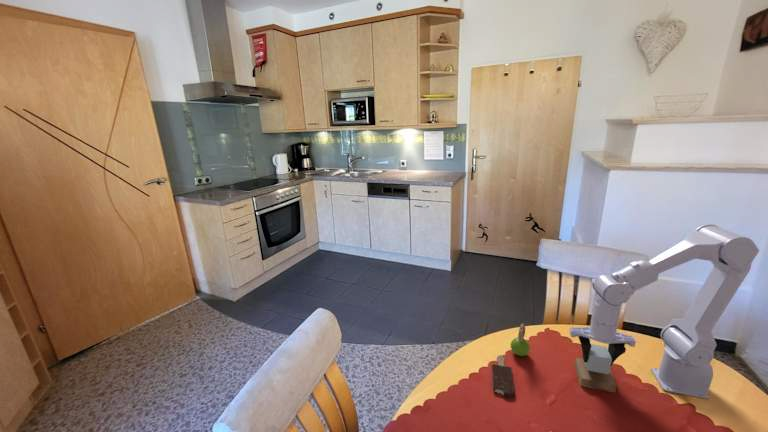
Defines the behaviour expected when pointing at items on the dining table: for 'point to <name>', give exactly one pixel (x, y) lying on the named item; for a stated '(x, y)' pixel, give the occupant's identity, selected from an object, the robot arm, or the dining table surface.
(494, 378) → the ice cream bar
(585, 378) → the walnut block
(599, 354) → the slate-blue cube
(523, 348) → the green candy apple
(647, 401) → the dining table surface
